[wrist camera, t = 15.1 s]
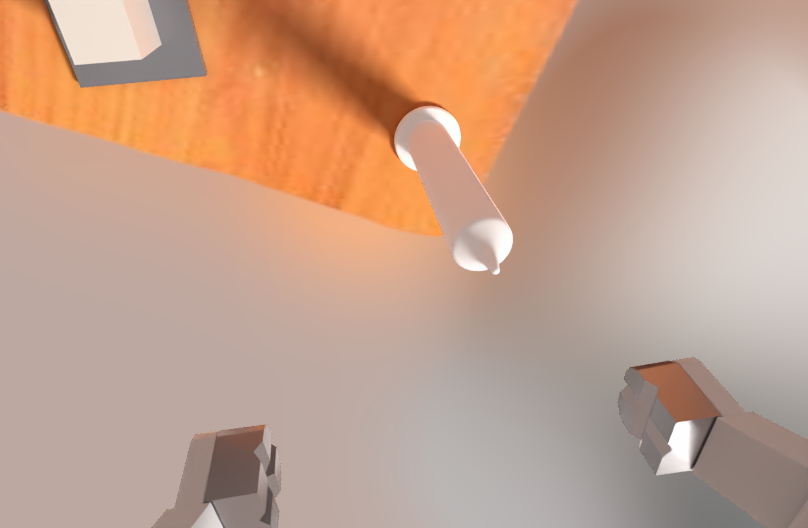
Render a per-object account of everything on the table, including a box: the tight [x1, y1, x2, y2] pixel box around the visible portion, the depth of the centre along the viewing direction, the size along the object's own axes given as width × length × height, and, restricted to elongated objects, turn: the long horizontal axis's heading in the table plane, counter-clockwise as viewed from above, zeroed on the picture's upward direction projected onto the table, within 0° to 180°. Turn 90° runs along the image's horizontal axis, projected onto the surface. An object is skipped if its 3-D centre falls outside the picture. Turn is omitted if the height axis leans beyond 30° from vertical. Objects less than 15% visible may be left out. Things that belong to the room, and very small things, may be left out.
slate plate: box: [45, 0, 207, 88], centre depth 42 cm, size 11×11×1 cm
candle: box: [394, 106, 513, 274], centre depth 43 cm, size 7×7×25 cm
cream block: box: [48, 0, 162, 65], centre depth 39 cm, size 5×5×6 cm
